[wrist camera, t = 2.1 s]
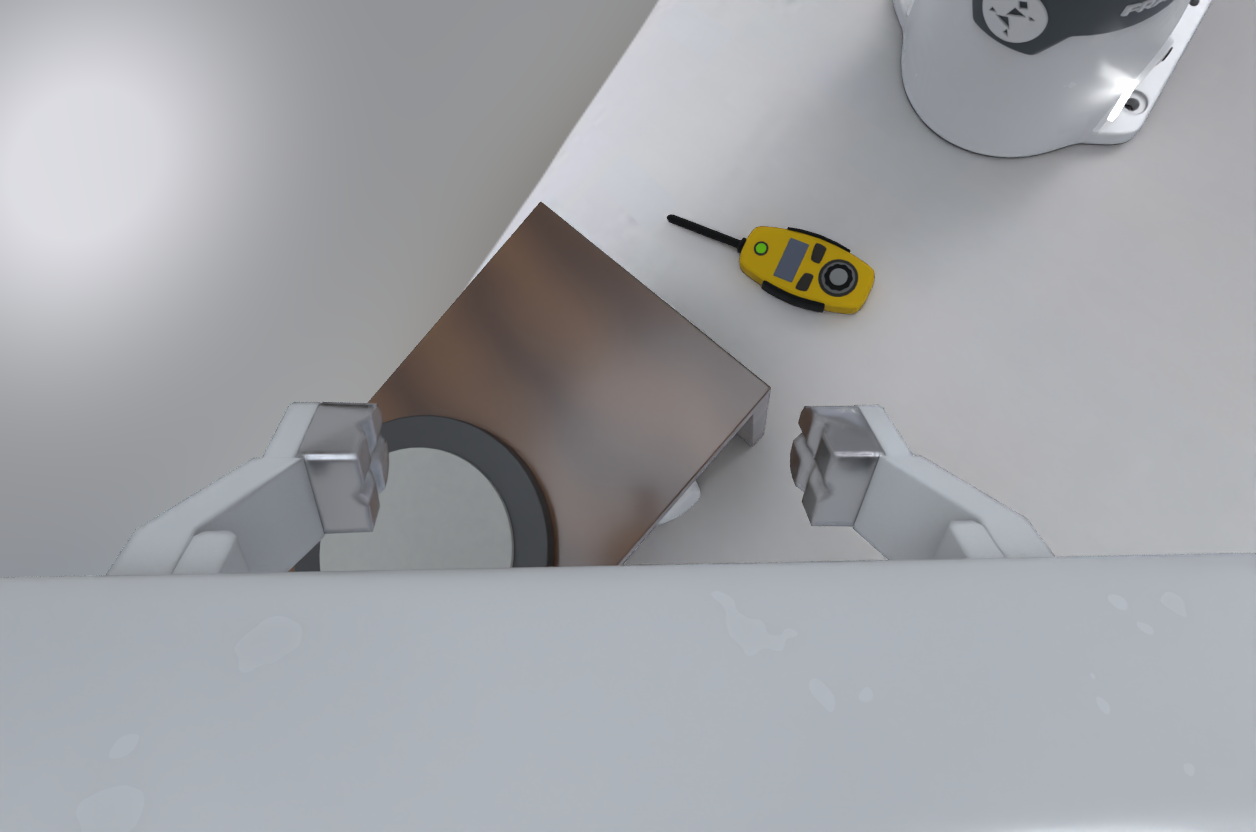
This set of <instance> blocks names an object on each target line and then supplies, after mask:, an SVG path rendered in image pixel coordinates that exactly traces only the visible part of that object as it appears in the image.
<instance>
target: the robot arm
mask: <svg viewBox="0 0 1256 832" xmlns="http://www.w3.org/2000/svg"><path fill="white" fill-rule="evenodd" d="M1211 2H1212V0H894V8H895V11H896V14H897V17H898V20H899V22H900V25H901V27H902V30H903V47H902V56H901V72H902V79H903V84H904V88H905V91H906V94H907V96H908V98H909V101H910V102H911V104H912V106H913V108H914V109H915V111H916V112H917V114H918V115H919V116H920V118H921V119H922V120H923V121H924V122H925V123H926V124H927V125H928V126H929V127H930V128H931V129H932V130H933V131H934V132H935V133H937V134H938V135H939V136H941V137H942V138H944V139H945V140H947V141H949V142H951V143H952V144H954V145H956V146H959V147H961V148H963V149H966V150H969V151H972V152H975V153H979V154H983V155H988V156H995V157H1025V156H1032V155H1038V154H1042V153H1046V152H1049V151H1053V150H1056V149H1059V148H1062V147H1065V146H1069V145H1073V144H1078V143H1088V144H1118V143H1123V142H1126V141H1128V140H1130V139H1132V138H1133V137H1134V136H1135V134H1136V133H1137V132H1138V131H1139V129H1140V128H1141V127H1142V125H1143V123H1144V122H1145V120H1146V118H1147V116H1148V115H1149V113H1150V111H1151V109H1152V107H1153V106H1154V104H1155V102H1156V100H1157V99H1158V97H1159V95H1160V93H1161V91H1162V90H1163V88H1164V86H1165V84H1166V82H1167V81H1168V79H1169V77H1170V75H1171V74H1172V72H1173V70H1174V68H1175V66H1176V65H1177V63H1178V61H1179V59H1180V57H1181V56H1182V54H1183V52H1184V50H1185V49H1186V47H1187V45H1188V43H1189V41H1190V40H1191V38H1192V36H1193V34H1194V32H1195V31H1196V29H1197V27H1198V25H1199V24H1200V22H1201V20H1202V18H1203V16H1204V15H1205V13H1206V11H1207V9H1208V7H1209V6H1210V4H1211ZM1125 104H1127V105H1130V106H1132V108H1133V111H1131V110H1128V109H1126V107H1125ZM798 423H799V426H800V428H801V430H802V433H801V434H800V435H799V436H798V437H797V438H795V439H794V440H793V444H792V449H791V453H790V469H791V474H792V478H793V481H794V483H795V486H796V487H798V488H799V489H801V490H802V491H803V492H804V495H803V499H802V504H803V506H804V509H805V511H806V513H807V516H808V518H809V521H810V523H811V526H854V527H853V529H854V530H856V531H857V532H858V533H859V534H860V535H861V536H862V537H863V538H864V539H866V540H867V541H868V542H869V543H870V544H871V545H872V546H873V547H874V548H876V549H877V550H878V551H879V552H880V553H881V554H882V555H883V556H884V557H886V558H887V559H888V560H868V561H818V562H768V563H717V564H668V565H617V566H565V567H514V568H463V569H412V570H360V571H309V572H288V571H289V570H290V569H291V568H292V567H293V566H294V565H295V564H296V563H297V562H298V561H300V560H301V559H302V558H303V557H304V556H305V555H306V554H307V553H308V552H309V551H310V550H311V549H312V548H313V547H314V546H315V545H316V544H317V543H318V542H319V541H320V540H322V539H323V538H324V537H325V535H324V534H334V533H359V532H373V530H374V526H375V523H376V519H377V516H378V512H379V509H380V502H379V496H378V494H379V493H380V492H382V491H383V490H384V489H385V487H386V483H387V479H388V471H389V451H388V445H387V440H386V439H385V438H384V437H382V436H381V435H380V431H381V428H382V425H383V418H382V413H381V409H380V407H379V405H378V404H374V403H334V402H323V403H320V402H294V403H292V404H290V405H289V406H288V408H287V410H286V412H285V414H284V416H283V418H282V420H281V421H280V423H279V425H278V427H277V429H276V431H275V434H274V435H273V437H272V439H271V441H270V443H269V445H268V447H267V449H266V451H265V453H264V455H263V457H262V458H253V459H251V460H249V461H248V462H246V463H244V464H243V465H241V466H239V467H238V468H236V469H234V470H233V471H231V472H229V473H228V474H226V475H224V476H223V477H221V478H219V479H218V480H216V481H215V482H213V483H211V484H210V485H208V486H206V487H205V488H203V489H201V490H200V491H198V492H196V493H195V494H193V495H191V496H190V497H188V498H187V499H185V500H183V501H182V502H180V503H178V504H177V505H175V506H173V507H172V508H170V509H168V510H167V511H165V512H163V513H162V514H160V515H159V516H157V517H155V518H154V519H152V520H150V521H149V522H147V523H145V524H144V525H142V526H140V527H139V528H137V529H135V531H134V532H133V534H132V535H131V537H130V538H129V540H128V542H127V543H126V544H125V546H124V547H123V549H122V551H121V552H120V554H119V555H118V557H117V558H116V560H115V561H114V563H113V564H112V566H111V568H110V569H109V570H108V572H107V574H106V575H105V576H59V577H58V576H56V577H6V578H5V577H4V578H0V832H1256V553H1210V554H1165V555H1120V556H1070V557H1055V556H1054V554H1053V553H1052V552H1051V550H1050V549H1049V548H1048V546H1047V545H1046V543H1045V542H1044V541H1043V539H1042V538H1041V537H1040V535H1039V534H1038V533H1037V531H1036V530H1035V529H1034V527H1033V526H1032V524H1031V523H1030V522H1029V520H1028V519H1027V518H1025V517H1024V516H1022V515H1020V514H1019V513H1017V512H1015V511H1014V510H1012V509H1010V508H1008V507H1007V506H1005V505H1003V504H1002V503H1000V502H998V501H997V500H995V499H993V498H992V497H990V496H988V495H986V494H985V493H983V492H981V491H980V490H978V489H976V488H975V487H973V486H971V485H970V484H968V483H966V482H964V481H963V480H961V479H959V478H958V477H956V476H954V475H953V474H951V473H949V472H948V471H946V470H944V469H942V468H941V467H939V466H937V465H936V464H934V463H932V462H931V461H929V460H927V459H926V458H924V457H922V456H914V455H913V454H912V452H911V451H910V449H909V448H908V446H907V444H906V443H905V441H904V440H903V438H902V436H901V435H900V433H899V432H898V430H897V429H896V427H895V425H894V424H893V422H892V421H891V419H890V418H889V416H888V414H887V413H886V411H885V410H884V408H883V407H881V406H880V405H854V406H805V407H804V409H803V410H802V412H801V415H800V418H799V422H798Z"/></svg>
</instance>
